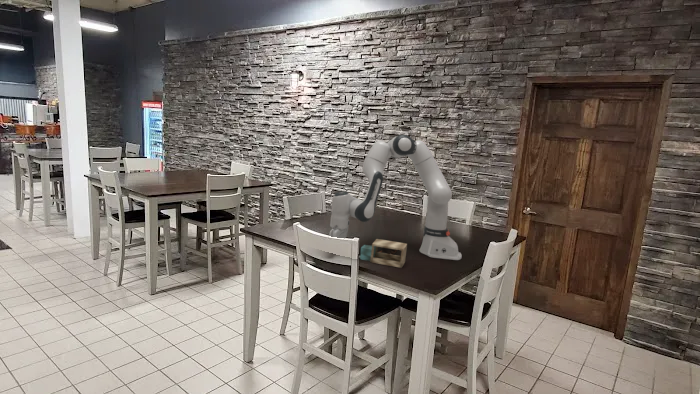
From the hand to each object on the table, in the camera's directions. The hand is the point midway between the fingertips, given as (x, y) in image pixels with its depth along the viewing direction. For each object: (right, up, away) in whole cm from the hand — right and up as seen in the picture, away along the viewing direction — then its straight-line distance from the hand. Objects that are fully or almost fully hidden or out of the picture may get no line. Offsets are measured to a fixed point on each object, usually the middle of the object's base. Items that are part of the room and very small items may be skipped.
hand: (336, 249), depth 202 cm
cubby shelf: (+25, -5, -7) cm, 27 cm away
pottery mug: (+26, -3, +5) cm, 27 cm away
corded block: (+9, -3, -3) cm, 10 cm away
